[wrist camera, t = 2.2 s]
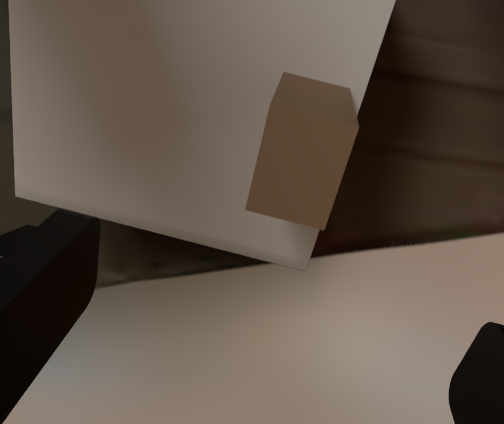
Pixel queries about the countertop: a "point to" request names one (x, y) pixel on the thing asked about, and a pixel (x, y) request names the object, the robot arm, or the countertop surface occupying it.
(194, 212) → the lid
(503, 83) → the countertop surface
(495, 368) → the robot arm
